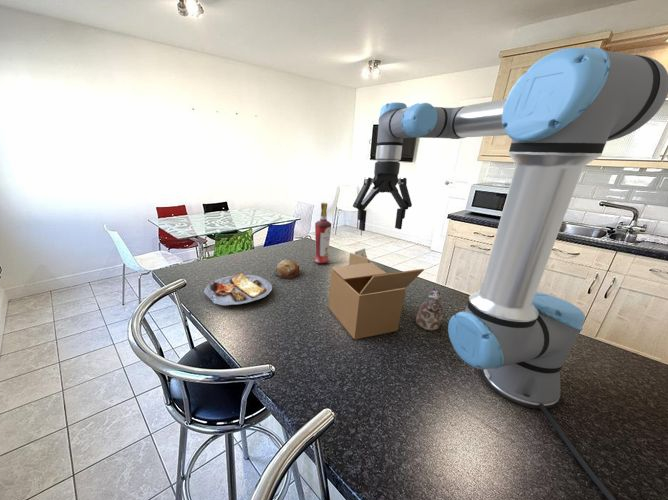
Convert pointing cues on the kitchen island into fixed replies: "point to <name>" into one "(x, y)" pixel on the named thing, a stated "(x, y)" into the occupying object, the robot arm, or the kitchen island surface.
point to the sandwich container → (357, 259)
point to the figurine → (430, 311)
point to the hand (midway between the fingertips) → (380, 229)
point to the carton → (363, 301)
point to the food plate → (237, 289)
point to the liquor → (322, 237)
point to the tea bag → (361, 253)
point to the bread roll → (287, 269)
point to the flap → (390, 281)
